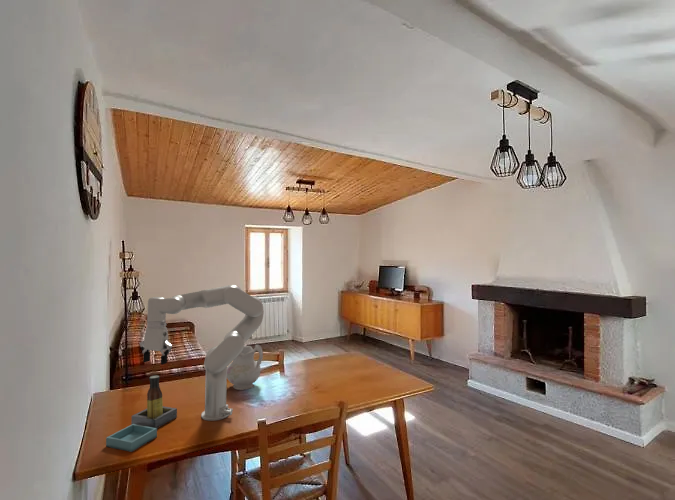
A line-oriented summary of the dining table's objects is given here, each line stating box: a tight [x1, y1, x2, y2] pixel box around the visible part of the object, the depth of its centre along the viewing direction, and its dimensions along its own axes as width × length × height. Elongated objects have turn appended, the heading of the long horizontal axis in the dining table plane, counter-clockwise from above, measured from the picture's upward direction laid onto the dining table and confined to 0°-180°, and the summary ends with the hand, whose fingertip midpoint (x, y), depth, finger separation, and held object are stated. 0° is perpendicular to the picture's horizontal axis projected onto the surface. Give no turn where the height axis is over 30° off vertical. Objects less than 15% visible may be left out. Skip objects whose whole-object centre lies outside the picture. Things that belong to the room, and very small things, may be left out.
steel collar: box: [130, 405, 178, 429], centre depth 169 cm, size 13×13×4 cm
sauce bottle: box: [146, 375, 164, 418], centre depth 169 cm, size 6×6×20 cm
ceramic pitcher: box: [227, 344, 264, 391], centre depth 216 cm, size 22×20×25 cm
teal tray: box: [105, 424, 158, 453], centre depth 150 cm, size 13×13×4 cm
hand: (155, 362), depth 169 cm, fingers open, 9 cm apart
